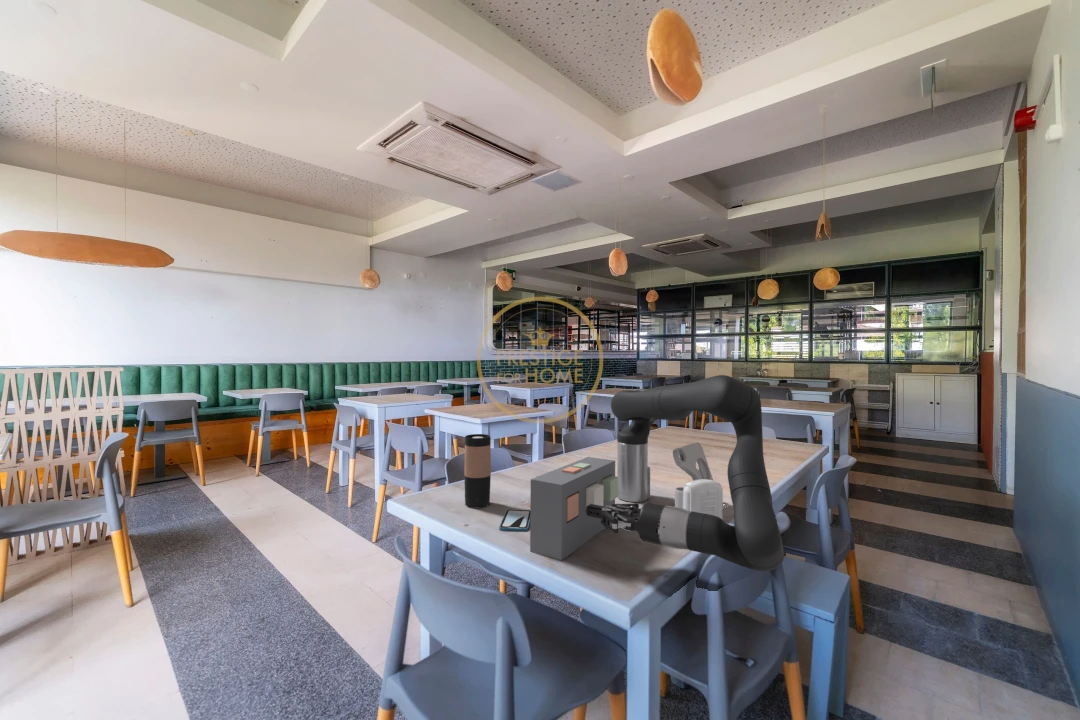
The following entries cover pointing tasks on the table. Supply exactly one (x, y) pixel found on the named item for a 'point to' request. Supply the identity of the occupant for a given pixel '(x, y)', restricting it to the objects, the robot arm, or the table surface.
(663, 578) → the table surface
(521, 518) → the smartphone
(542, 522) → the keypad console
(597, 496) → the white key
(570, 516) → the terracotta key
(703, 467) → the phone holder
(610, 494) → the sage key
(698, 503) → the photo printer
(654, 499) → the table surface
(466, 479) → the travel mug
